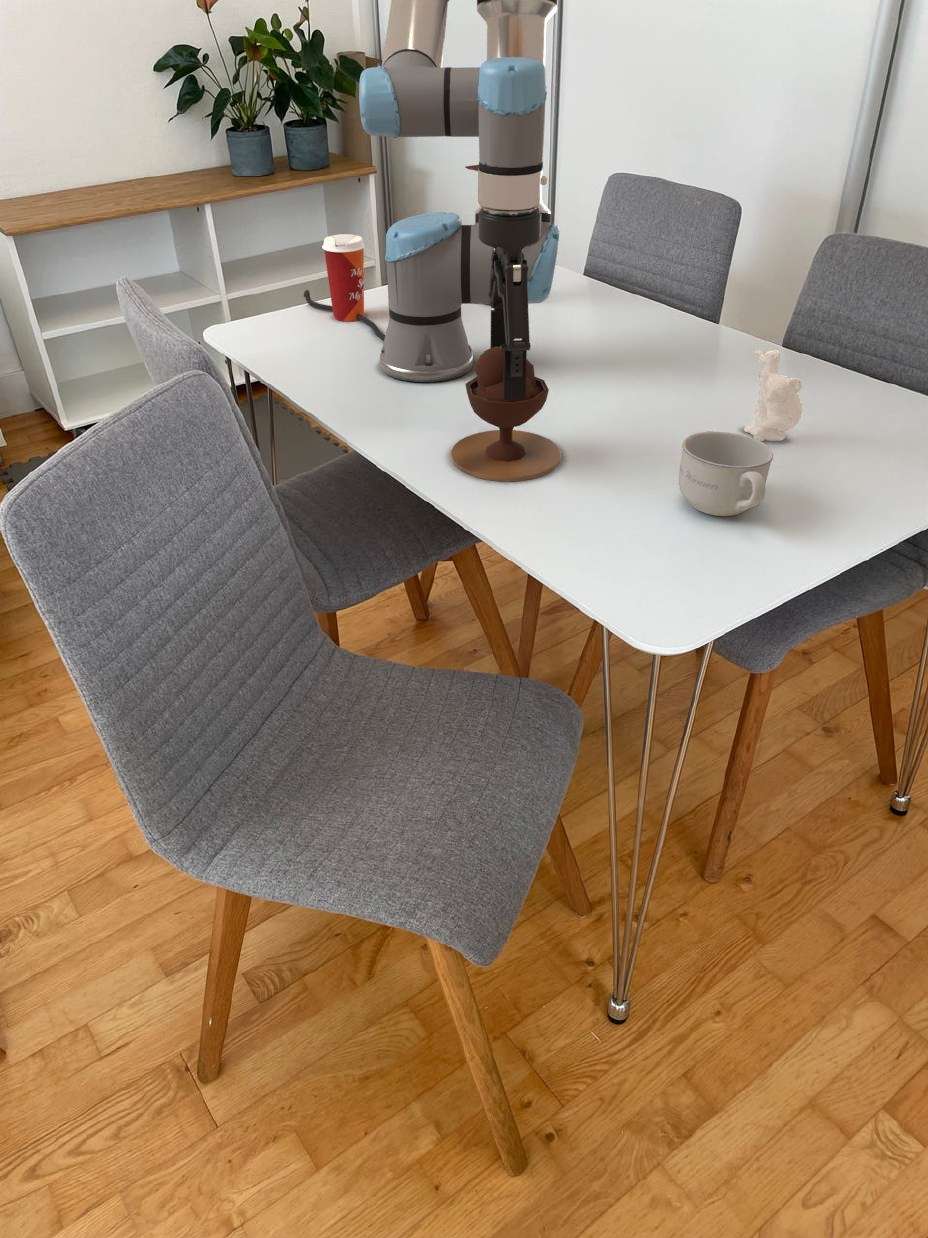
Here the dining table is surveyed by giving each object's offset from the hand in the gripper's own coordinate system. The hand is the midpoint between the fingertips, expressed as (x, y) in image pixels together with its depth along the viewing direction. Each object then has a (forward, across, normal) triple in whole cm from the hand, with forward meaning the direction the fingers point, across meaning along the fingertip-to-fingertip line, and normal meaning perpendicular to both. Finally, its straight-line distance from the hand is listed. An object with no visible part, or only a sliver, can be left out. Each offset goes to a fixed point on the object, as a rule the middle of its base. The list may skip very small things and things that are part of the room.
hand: (507, 377), depth 132 cm
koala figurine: (+12, +2, -38) cm, 39 cm away
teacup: (+11, -19, -25) cm, 33 cm away
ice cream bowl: (+11, -1, 0) cm, 11 cm away
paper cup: (+12, +62, +21) cm, 66 cm away
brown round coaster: (+11, -1, 0) cm, 11 cm away
